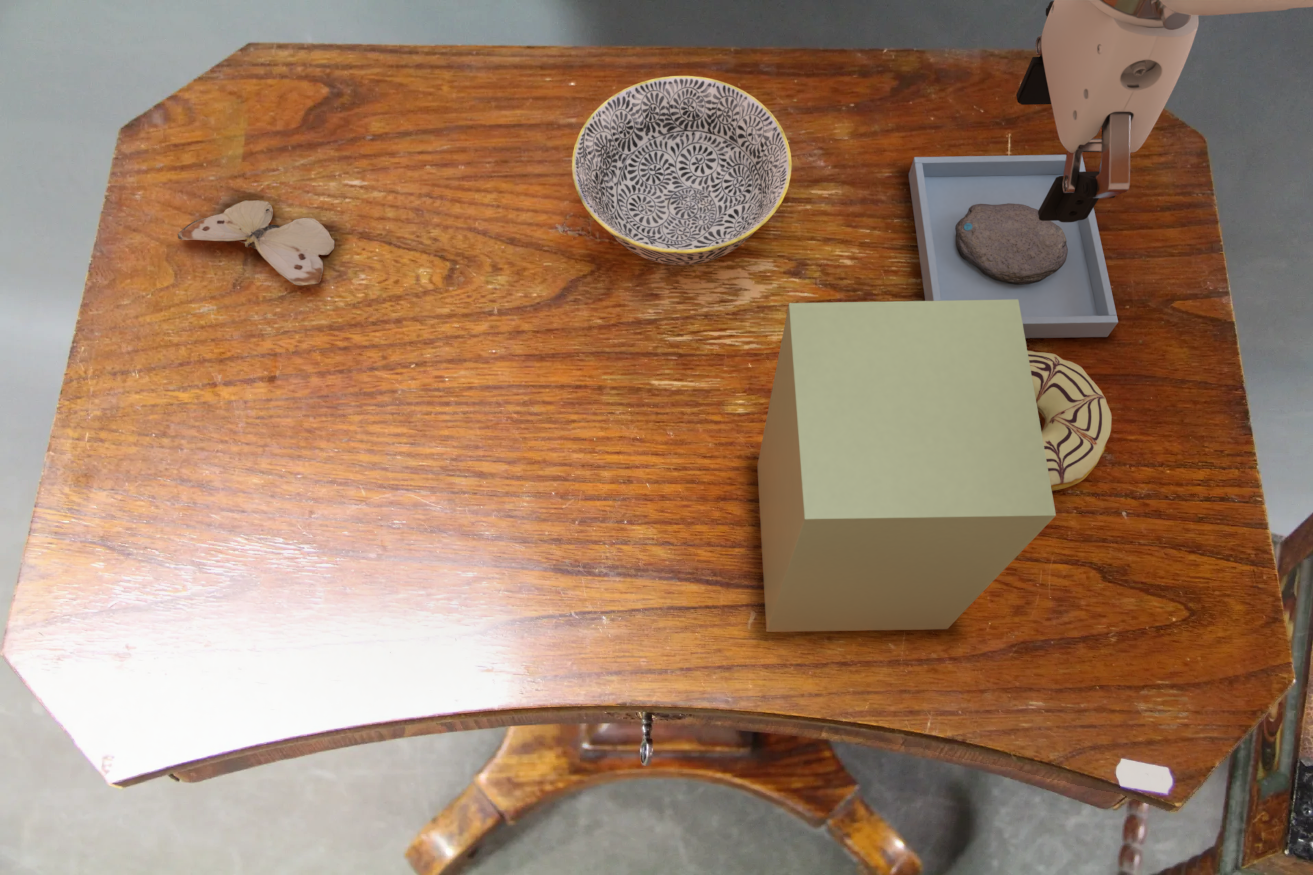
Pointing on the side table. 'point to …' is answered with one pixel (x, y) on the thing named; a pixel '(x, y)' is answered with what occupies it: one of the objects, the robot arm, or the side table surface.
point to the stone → (1010, 243)
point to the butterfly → (269, 239)
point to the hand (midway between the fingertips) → (1049, 157)
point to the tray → (1047, 307)
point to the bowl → (681, 168)
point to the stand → (897, 463)
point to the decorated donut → (1069, 418)
